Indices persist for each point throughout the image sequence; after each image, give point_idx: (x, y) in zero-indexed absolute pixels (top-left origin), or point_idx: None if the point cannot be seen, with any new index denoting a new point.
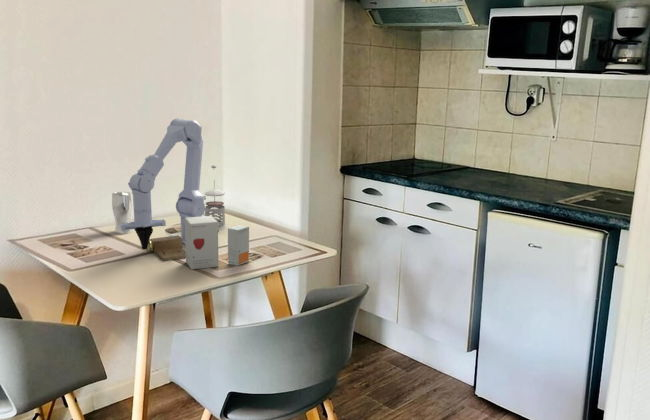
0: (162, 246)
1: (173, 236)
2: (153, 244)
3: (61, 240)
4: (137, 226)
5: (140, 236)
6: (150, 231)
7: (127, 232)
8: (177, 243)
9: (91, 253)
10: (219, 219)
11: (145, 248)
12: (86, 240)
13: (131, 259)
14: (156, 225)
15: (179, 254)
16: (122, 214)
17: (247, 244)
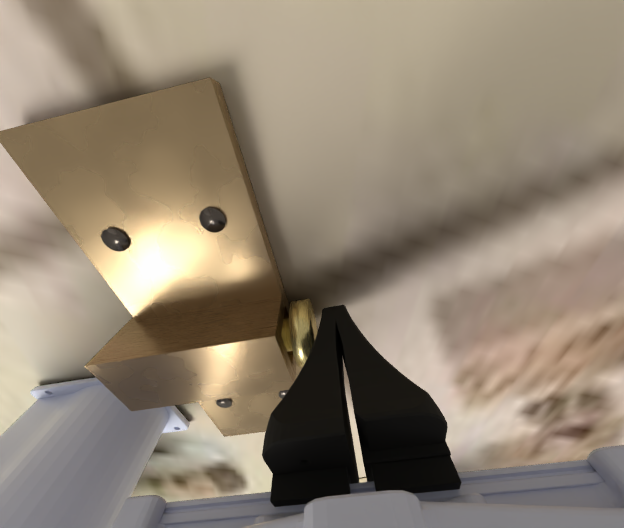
0: (230, 314)
1: (156, 399)
2: (283, 334)
3: (560, 460)
4: (494, 515)
5: (390, 368)
6: (293, 416)
7: (362, 481)
8: (138, 334)
9: (560, 343)
10: None
11: (333, 308)
12: (496, 452)
13: (429, 200)
14: (220, 513)
15: (87, 152)
16: None
17: None
